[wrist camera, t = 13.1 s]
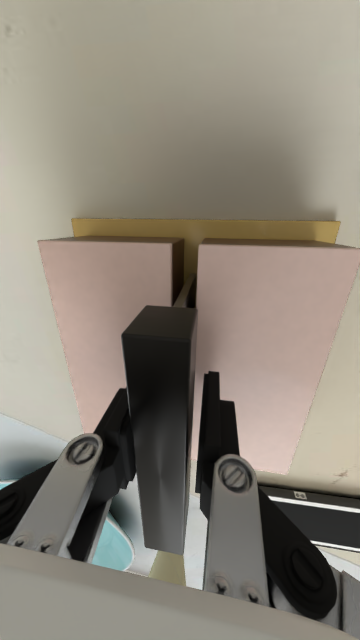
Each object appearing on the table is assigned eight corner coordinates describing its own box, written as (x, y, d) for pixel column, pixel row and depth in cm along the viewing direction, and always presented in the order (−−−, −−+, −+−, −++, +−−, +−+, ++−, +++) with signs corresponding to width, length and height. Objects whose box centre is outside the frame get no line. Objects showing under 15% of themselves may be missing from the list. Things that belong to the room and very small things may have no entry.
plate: (17, 532, 37) (2, 555, 35) (-29, 445, 28) (-53, 467, 25) (143, 563, 35) (137, 590, 32) (138, 478, 25) (130, 506, 23)
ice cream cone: (175, 490, 25) (127, 800, 12) (206, 512, 26) (195, 824, 13) (148, 503, 27) (81, 781, 14) (178, 523, 28) (142, 804, 15)
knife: (179, 265, 14) (119, 334, 5) (207, 266, 14) (191, 340, 5) (178, 395, 19) (144, 548, 10) (199, 397, 18) (183, 556, 10)
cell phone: (374, 544, 23) (380, 557, 23) (234, 521, 26) (234, 531, 25) (401, 502, 20) (409, 515, 19) (238, 480, 23) (239, 491, 22)
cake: (75, 218, 14) (11, 216, 10) (336, 221, 12) (406, 220, 8) (106, 401, 21) (76, 450, 17) (280, 423, 19) (300, 487, 14)
